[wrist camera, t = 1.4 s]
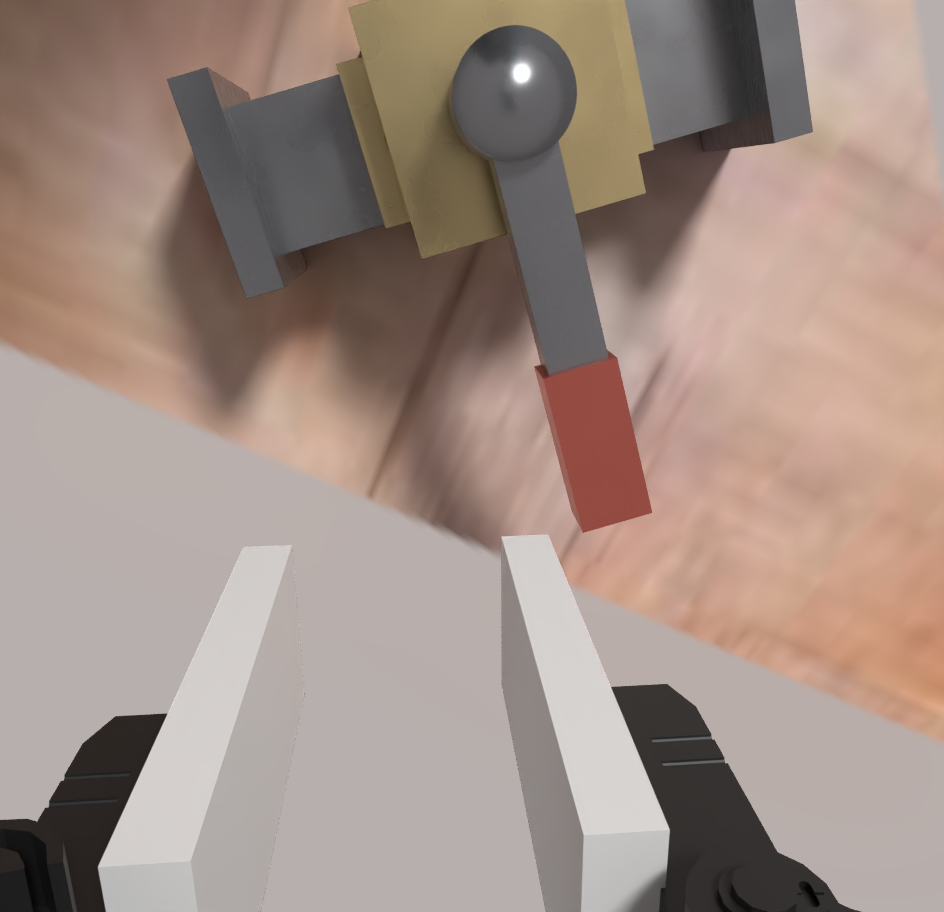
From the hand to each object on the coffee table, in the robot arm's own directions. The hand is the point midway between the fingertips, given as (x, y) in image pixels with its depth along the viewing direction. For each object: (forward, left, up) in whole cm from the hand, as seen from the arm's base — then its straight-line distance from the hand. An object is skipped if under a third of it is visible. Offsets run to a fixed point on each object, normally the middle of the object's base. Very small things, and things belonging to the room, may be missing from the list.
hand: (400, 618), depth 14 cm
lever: (-2, +5, -13) cm, 15 cm away
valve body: (-8, +5, -21) cm, 23 cm away
